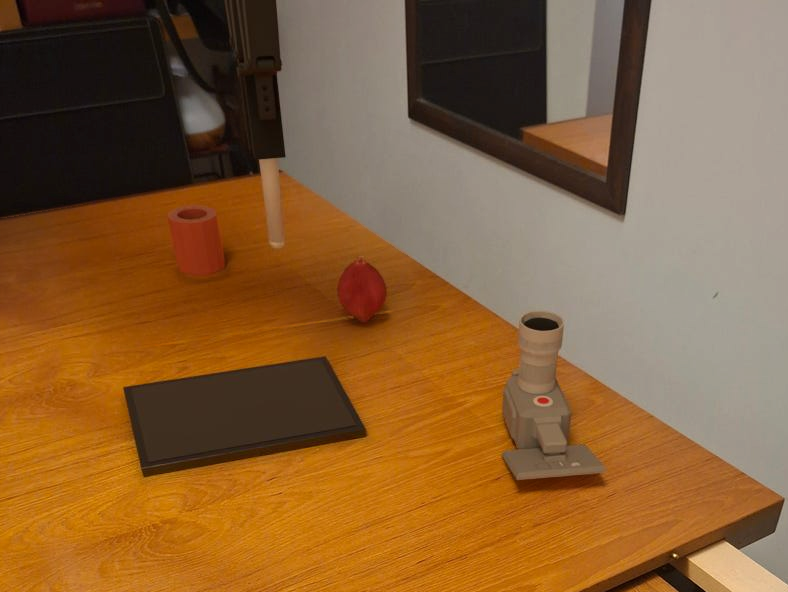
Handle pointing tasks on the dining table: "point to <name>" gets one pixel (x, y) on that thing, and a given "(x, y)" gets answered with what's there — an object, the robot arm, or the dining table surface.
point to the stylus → (272, 202)
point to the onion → (361, 290)
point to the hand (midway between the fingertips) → (267, 152)
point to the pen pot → (196, 239)
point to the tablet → (239, 415)
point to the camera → (541, 407)
